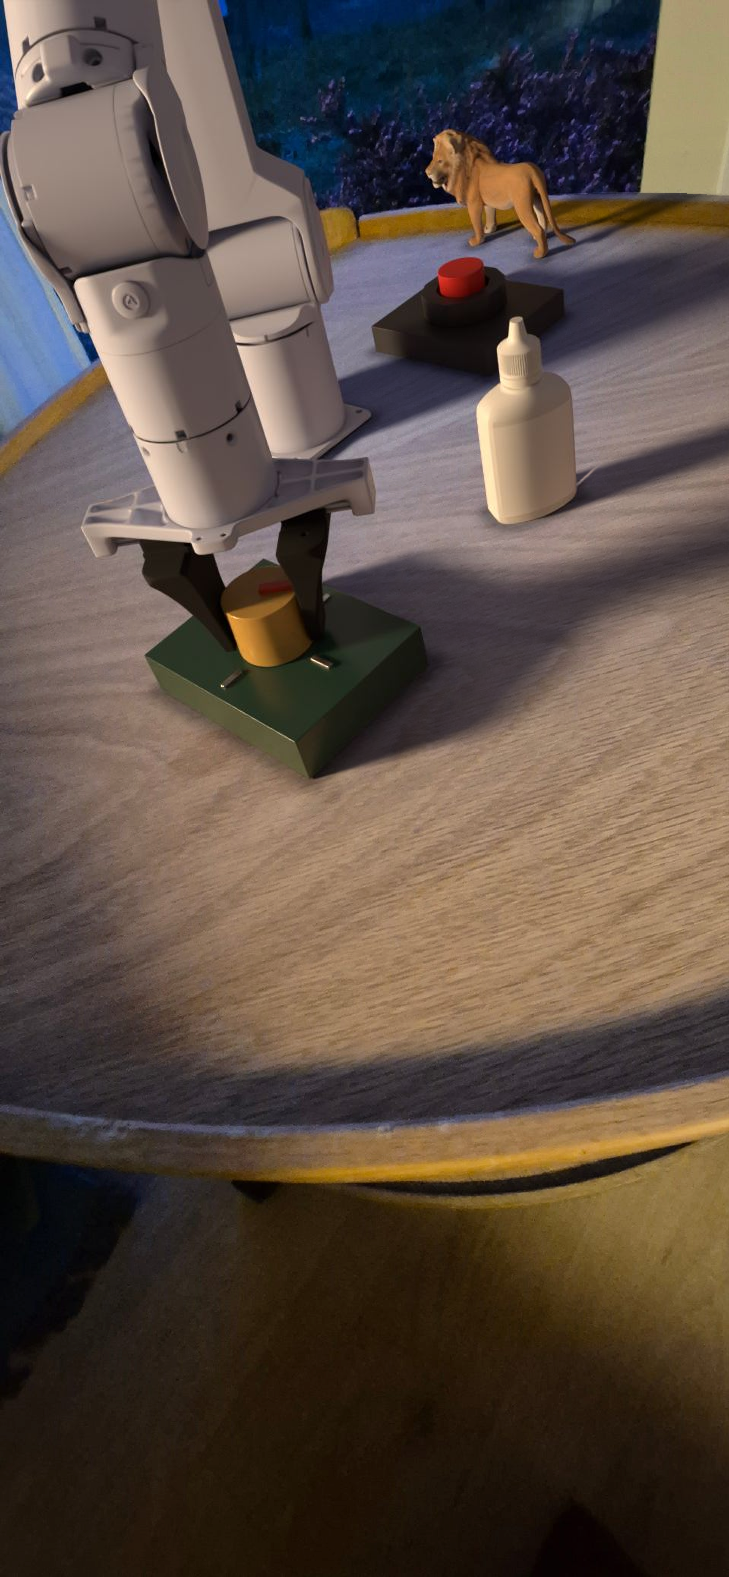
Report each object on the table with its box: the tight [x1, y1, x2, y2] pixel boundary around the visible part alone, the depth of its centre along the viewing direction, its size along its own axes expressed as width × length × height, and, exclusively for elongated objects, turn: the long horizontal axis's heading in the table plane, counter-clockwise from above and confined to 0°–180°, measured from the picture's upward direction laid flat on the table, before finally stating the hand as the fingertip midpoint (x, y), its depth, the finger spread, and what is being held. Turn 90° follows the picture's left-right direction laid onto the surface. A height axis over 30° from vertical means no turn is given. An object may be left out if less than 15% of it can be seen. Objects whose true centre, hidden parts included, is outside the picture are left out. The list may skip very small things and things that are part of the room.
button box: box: [371, 265, 566, 378], centre depth 76 cm, size 12×10×4 cm
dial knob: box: [221, 566, 313, 667], centre depth 52 cm, size 4×4×4 cm
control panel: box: [143, 558, 430, 780], centre depth 54 cm, size 13×10×3 cm
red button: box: [437, 256, 486, 298], centre depth 74 cm, size 4×4×2 cm
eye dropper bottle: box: [476, 317, 578, 525], centre depth 57 cm, size 4×6×12 cm
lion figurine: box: [425, 128, 577, 259], centre depth 84 cm, size 15×5×9 cm, turn 50°
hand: (274, 634), depth 53 cm, fingers closed on dial knob, 4 cm apart
